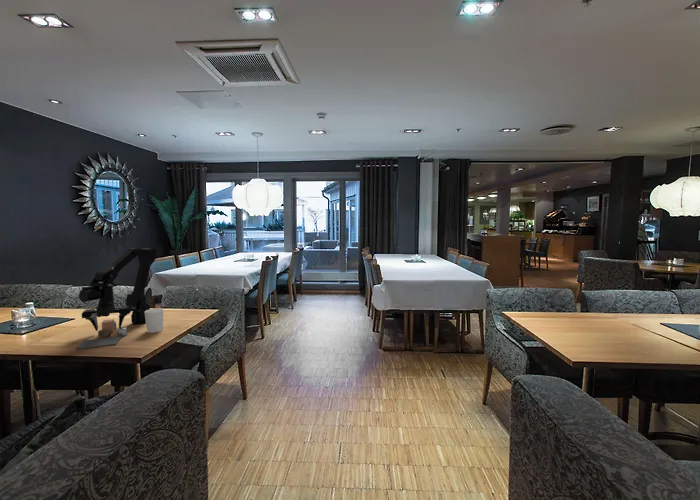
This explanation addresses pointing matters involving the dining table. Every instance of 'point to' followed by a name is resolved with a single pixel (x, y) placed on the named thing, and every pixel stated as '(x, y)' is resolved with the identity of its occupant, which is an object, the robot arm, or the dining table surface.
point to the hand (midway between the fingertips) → (108, 329)
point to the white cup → (154, 320)
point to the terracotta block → (108, 325)
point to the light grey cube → (122, 331)
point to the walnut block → (104, 333)
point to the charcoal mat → (99, 342)
